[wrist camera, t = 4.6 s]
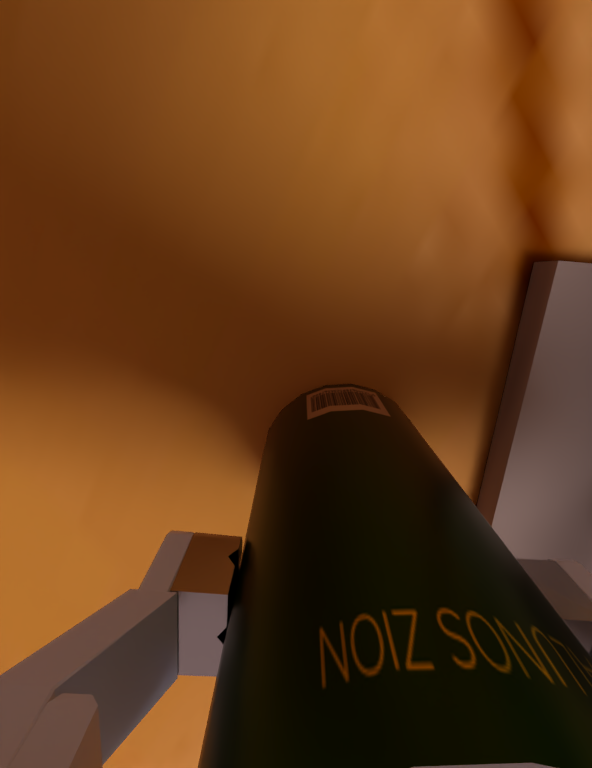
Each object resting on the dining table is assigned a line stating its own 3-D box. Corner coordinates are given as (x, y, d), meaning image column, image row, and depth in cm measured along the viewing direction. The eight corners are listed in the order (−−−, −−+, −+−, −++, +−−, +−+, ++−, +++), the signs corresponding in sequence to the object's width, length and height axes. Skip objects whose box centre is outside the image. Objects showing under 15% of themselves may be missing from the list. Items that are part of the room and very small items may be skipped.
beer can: (249, 395, 14) (-43, 1078, 2) (400, 363, 13) (1106, 963, 2) (284, 524, 15) (230, 1366, 3) (421, 498, 15) (885, 1338, 3)
